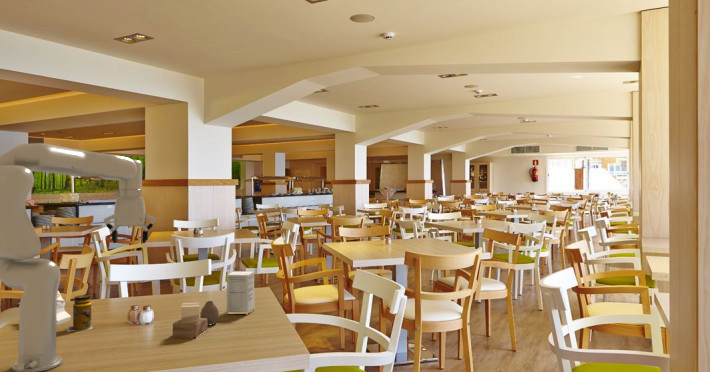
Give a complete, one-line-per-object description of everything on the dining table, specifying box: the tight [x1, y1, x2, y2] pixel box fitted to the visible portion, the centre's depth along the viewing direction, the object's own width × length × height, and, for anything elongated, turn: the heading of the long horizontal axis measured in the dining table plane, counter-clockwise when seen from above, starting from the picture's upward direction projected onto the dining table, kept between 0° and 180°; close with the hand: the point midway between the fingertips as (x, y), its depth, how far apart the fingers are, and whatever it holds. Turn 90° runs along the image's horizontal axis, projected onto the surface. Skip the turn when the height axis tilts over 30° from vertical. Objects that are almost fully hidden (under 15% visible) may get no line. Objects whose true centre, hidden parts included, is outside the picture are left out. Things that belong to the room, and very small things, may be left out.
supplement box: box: [226, 270, 255, 313], centre depth 221 cm, size 10×9×17 cm
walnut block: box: [172, 317, 208, 338], centre depth 189 cm, size 9×9×5 cm
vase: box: [199, 300, 220, 324], centre depth 202 cm, size 7×7×9 cm
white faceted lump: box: [56, 290, 72, 326], centre depth 204 cm, size 12×15×14 cm
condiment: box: [65, 294, 94, 333], centre depth 195 cm, size 7×8×12 cm
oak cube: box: [180, 302, 200, 324], centre depth 188 cm, size 6×6×6 cm
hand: (130, 242), depth 186 cm, fingers open, 9 cm apart
